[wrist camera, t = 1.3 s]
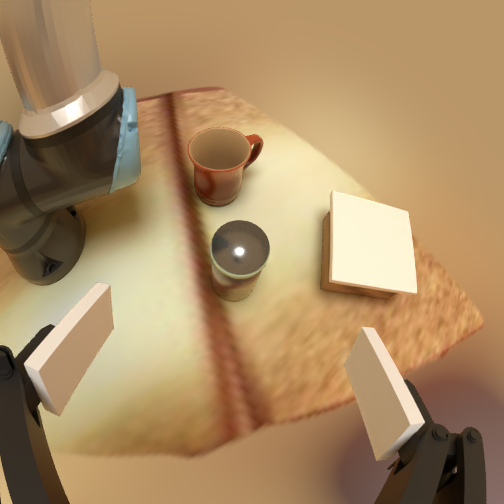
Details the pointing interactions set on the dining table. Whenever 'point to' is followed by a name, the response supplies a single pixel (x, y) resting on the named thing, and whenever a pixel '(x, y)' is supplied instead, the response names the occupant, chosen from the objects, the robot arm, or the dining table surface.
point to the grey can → (237, 259)
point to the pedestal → (367, 248)
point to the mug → (221, 162)
